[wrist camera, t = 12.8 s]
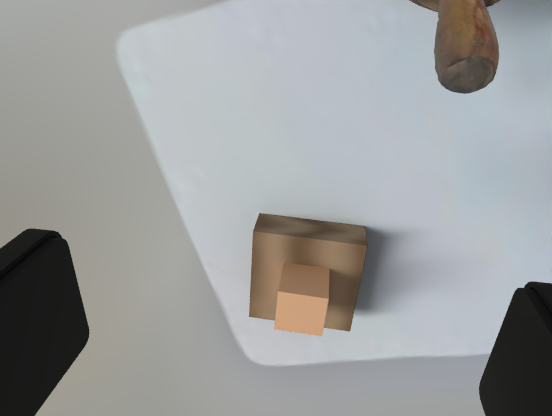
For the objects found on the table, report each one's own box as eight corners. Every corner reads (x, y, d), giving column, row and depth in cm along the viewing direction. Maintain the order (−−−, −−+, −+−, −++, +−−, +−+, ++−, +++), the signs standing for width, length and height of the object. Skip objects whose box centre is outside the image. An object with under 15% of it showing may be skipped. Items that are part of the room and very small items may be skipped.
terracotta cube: (329, 268, 44) (328, 298, 40) (323, 304, 47) (322, 336, 42) (283, 262, 45) (277, 291, 40) (280, 297, 47) (274, 328, 43)
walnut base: (365, 226, 46) (367, 245, 42) (349, 308, 52) (349, 331, 48) (259, 213, 47) (253, 231, 44) (255, 295, 53) (249, 316, 49)
